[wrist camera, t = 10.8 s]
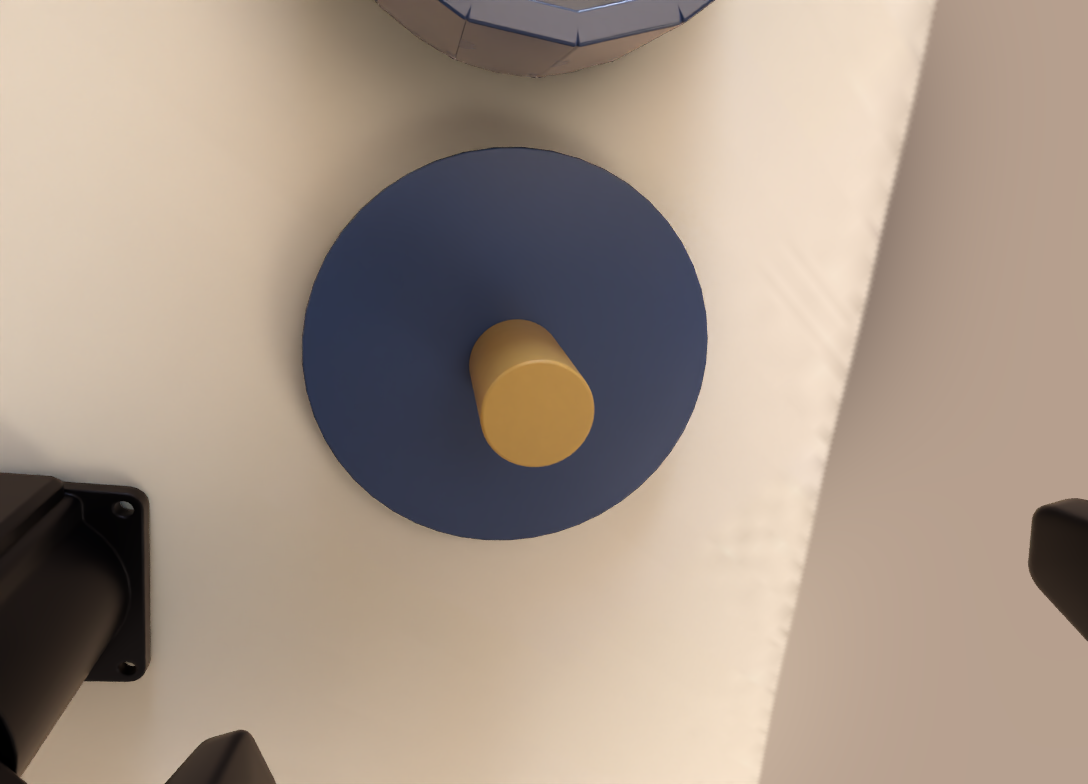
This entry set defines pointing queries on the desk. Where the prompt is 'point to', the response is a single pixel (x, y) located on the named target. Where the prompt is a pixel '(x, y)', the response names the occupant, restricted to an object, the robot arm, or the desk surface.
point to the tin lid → (504, 343)
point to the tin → (540, 30)
